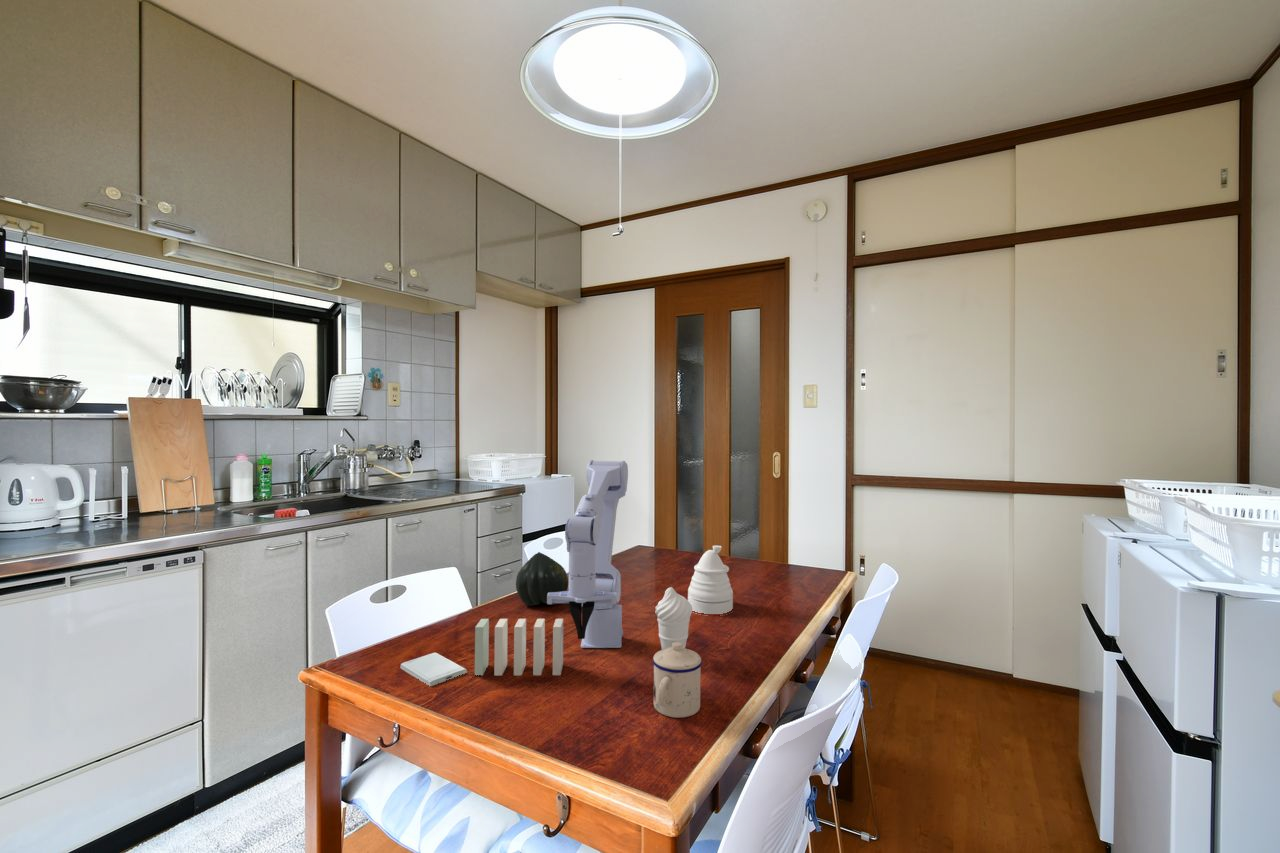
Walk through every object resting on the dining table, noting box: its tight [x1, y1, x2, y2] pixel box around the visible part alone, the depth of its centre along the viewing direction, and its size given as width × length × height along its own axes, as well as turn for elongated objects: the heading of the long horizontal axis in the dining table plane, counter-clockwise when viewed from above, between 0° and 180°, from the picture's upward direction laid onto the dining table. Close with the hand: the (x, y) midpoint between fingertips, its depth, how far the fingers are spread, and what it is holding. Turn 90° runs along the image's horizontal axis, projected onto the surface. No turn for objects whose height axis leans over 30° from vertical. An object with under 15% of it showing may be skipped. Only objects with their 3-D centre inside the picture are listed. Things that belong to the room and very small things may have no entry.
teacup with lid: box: [652, 642, 703, 719], centre depth 101 cm, size 12×9×12 cm
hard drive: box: [400, 652, 468, 687], centre depth 116 cm, size 2×8×12 cm
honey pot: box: [687, 544, 734, 614], centre depth 158 cm, size 13×13×18 cm
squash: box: [515, 551, 569, 607], centre depth 162 cm, size 14×15×15 cm
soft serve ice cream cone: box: [654, 586, 693, 650], centre depth 123 cm, size 8×8×16 cm
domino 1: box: [474, 618, 490, 677], centre depth 116 cm, size 2×5×10 cm, turn 2°
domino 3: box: [513, 618, 527, 676], centre depth 117 cm, size 2×5×10 cm, turn 2°
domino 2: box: [493, 618, 509, 677], centre depth 116 cm, size 2×5×10 cm, turn 2°
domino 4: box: [532, 618, 546, 676], centre depth 117 cm, size 2×5×10 cm, turn 2°
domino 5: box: [552, 618, 564, 676], centre depth 117 cm, size 2×5×10 cm, turn 2°
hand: (581, 637), depth 117 cm, fingers closed
